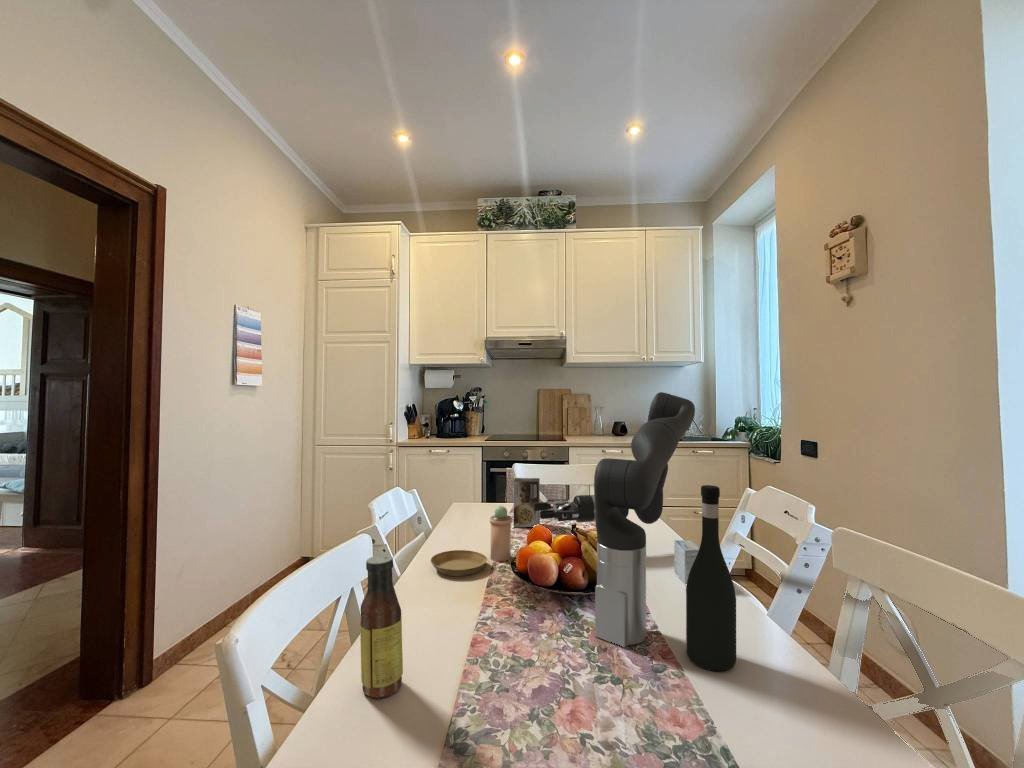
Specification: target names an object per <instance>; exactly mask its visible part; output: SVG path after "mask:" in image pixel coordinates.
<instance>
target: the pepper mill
mask: <svg viewBox="0 0 1024 768" xmlns="http://www.w3.org/2000/svg"><path fill="white" fill-rule="evenodd" d="M489 523H490V560H491V561H495V562H499V561H502V562H506V561H505V560H508V559H510V560H511V558H510V557H511V548H512V547H511V546H512V544H511V543H512V540H511V539H512V538H511V537H512V536H511V535H512V533H511V532H512V531H511V529H512V528H511V527H512V523H513V517H512V516H510V515H508V510H507V508H506V507H505V506H504V505H499V506H497V507H496V508H495V509H494V514H493V515H492V516H490V517H489ZM508 561H509V560H508Z"/></svg>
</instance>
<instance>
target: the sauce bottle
mask: <svg viewBox="0 0 1024 768" xmlns="http://www.w3.org/2000/svg"><path fill="white" fill-rule="evenodd" d="M365 562H366V563H365V564H366V565H365V568H366V571H367V591H366V594H365V596H364V597H363V600H362V602H361V604H360V623H359V624H360V625H359V626H360V629H359V630H360V633H359V634H360V670H361V673H360V677H361V679H360V680H361V684H362V685H361V686H362V692H363V694H364V695H366V696H368V697H370V698H374V699H380V698H381V699H382V698H386V697H389V696H391V695H394V694H396V692H398V690H399V689H400V688H401V686H402V684H403V681H402V680H403V674H404V673H403V672H404V670H403V669H404V666H403V665H404V663H403V662H404V661H403V660H404V658H403V630H402V629H403V627H402V626H403V624H402V623H403V622H402V621H403V620H402V618H403V617H402V608H401V606H400V603H399V599H398V597H397V593H396V590H395V586H394V581H393V567H394V559H393V557H392V556H391V555H388V554H387V555H386V554H383V555H382V554H380V555H379V554H378V555H375V556H371V557H369V558H367V560H366V561H365Z"/></svg>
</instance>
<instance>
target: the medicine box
mask: <svg viewBox="0 0 1024 768" xmlns="http://www.w3.org/2000/svg"><path fill="white" fill-rule="evenodd" d="M673 547H674V548H673V549H674V573H676V574H677V575H678V576H679V577H680V578H681V579H680V578H679V577H678V576H677V575H676V574H675V575H676V576H677V577H678V578H679V579H680V581H681V580H682V581H683V582H684V583H685V584H687V580H688V576H689V573H690V570H691V567H692V565H693V563H694V561H695V558H696V556H697V553H698V551H699V548H700V546H698V545H697V544H696V543H695V542H694V541H692V540H689V539H687V540H685V539H680V540H679V539H678V540H674V545H673ZM682 581H681V582H682ZM683 582H682V583H683ZM684 583H683V584H684ZM685 584H684V585H685Z"/></svg>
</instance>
